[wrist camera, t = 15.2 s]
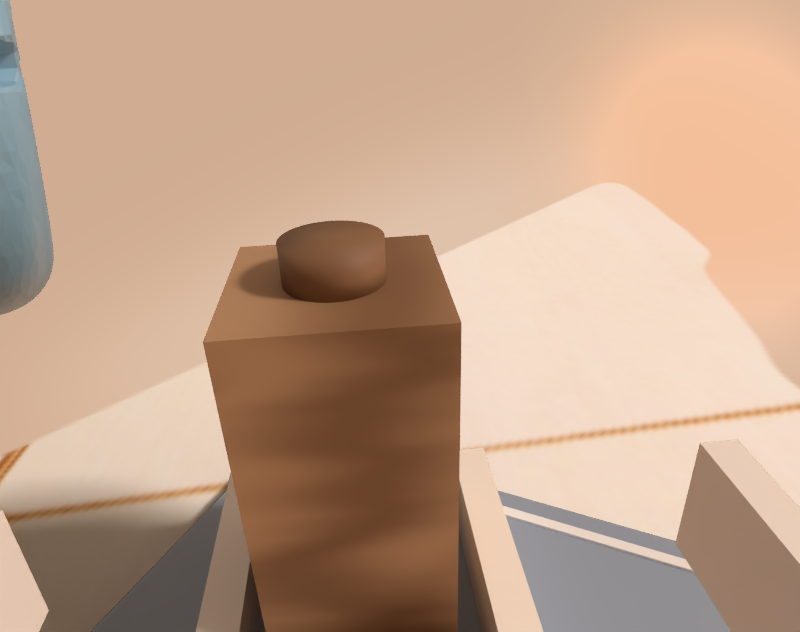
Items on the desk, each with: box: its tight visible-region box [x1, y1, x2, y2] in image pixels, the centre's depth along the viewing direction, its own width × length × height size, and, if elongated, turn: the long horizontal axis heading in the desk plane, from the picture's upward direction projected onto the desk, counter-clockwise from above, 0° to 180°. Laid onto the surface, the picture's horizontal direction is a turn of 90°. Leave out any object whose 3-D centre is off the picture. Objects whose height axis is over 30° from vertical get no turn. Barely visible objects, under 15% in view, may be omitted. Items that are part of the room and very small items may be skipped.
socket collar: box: [196, 448, 543, 632], centre depth 19 cm, size 9×9×2 cm
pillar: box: [203, 221, 461, 632], centre depth 17 cm, size 5×5×13 cm
